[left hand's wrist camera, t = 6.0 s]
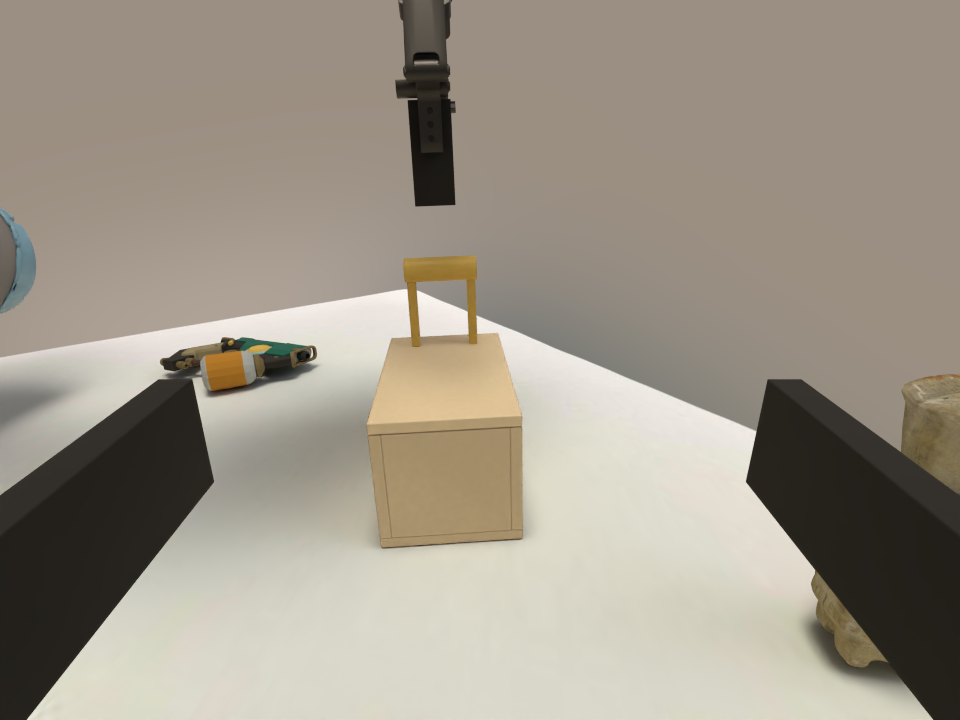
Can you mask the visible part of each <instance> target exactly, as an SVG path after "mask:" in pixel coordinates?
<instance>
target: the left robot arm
mask: <svg viewBox="0 0 960 720" xmlns="http://www.w3.org/2000/svg"><path fill="white" fill-rule="evenodd" d="M213 483H214V479H213V474H212V470H211V465H210V460H209V456H208V451H207V446H206V442H205V437H204V432H203V428H202V423H201V418H200V413H199V409H198V404H197V399H196V395H195V390H194V385H193V381H192V379H159V380H157V381H156V382H155V383H153V384H152V385H150V386H149V387H148V388H146V389H145V390H144V391H142V392H141V393H140V394H138V395H137V396H135V397H134V398H133V399H131V400H130V401H129V402H127V403H126V404H124V405H123V406H122V407H120V408H119V409H118V410H116V411H115V412H114V413H112V414H111V415H109V416H108V417H107V418H105V419H104V420H103V421H101V422H100V423H98V424H97V425H96V426H94V427H93V428H92V429H90V430H89V431H88V432H86V433H85V434H83V435H82V436H81V437H79V438H78V439H77V440H75V441H74V442H73V443H71V444H70V445H68V446H67V447H66V448H64V449H63V450H62V451H60V452H59V453H57V454H56V455H55V456H53V457H52V458H51V459H49V460H48V461H47V462H45V463H44V464H42V465H41V466H40V467H38V468H37V469H36V470H34V471H33V472H32V473H30V474H29V475H27V476H26V477H25V478H23V479H22V480H21V481H19V482H18V483H16V484H15V485H14V486H12V487H11V488H10V489H8V490H7V491H6V492H4V493H3V494H1V495H0V720H27V719H28V717H29V716H30V715H31V713H32V712H33V711H34V710H35V708H36V707H37V706H38V705H39V703H40V702H41V701H42V700H43V698H44V697H45V696H46V694H47V693H48V692H49V691H50V689H51V688H52V687H53V686H54V684H55V683H56V682H57V681H58V679H59V678H60V677H61V675H62V674H63V673H64V672H65V670H66V669H67V668H68V667H69V665H70V664H71V663H72V661H73V660H74V659H75V658H76V656H77V655H78V654H79V653H80V651H81V650H82V649H83V648H84V646H85V645H86V644H87V642H88V641H89V640H90V639H91V637H92V636H93V635H94V634H95V632H96V631H97V630H98V628H99V627H100V626H101V625H102V623H103V622H104V621H105V620H106V618H107V617H108V616H109V615H110V613H111V612H112V611H113V609H114V608H115V607H116V606H117V604H118V603H119V602H120V601H121V599H122V598H123V597H124V595H125V594H126V593H127V592H128V590H129V589H130V588H131V587H132V585H133V584H134V583H135V582H136V580H137V579H138V578H139V576H140V575H141V574H142V573H143V571H144V570H145V569H146V568H147V566H148V565H149V564H150V563H151V561H152V560H153V559H154V557H155V556H156V555H157V554H158V552H159V551H160V550H161V549H162V547H163V546H164V545H165V543H166V542H167V541H168V540H169V538H170V537H171V536H172V535H173V533H174V532H175V531H176V530H177V528H178V527H179V526H180V524H181V523H182V522H183V521H184V519H185V518H186V517H187V516H188V514H189V513H190V512H191V510H192V509H193V508H194V507H195V505H196V504H197V503H198V502H199V500H200V499H201V498H202V497H203V495H204V494H205V493H206V491H207V490H208V489H209V488H210V486H211V485H212V484H213ZM746 483H747V484H748V485H749V486H750V488H751V489H752V490H753V491H754V493H755V494H756V495H757V497H758V498H759V499H760V500H761V502H762V503H763V504H764V505H765V507H766V508H767V509H768V510H769V512H770V513H771V514H772V516H773V517H774V518H775V519H776V521H777V522H778V523H779V524H780V526H781V527H782V528H783V530H784V531H785V532H786V533H787V535H788V536H789V537H790V538H791V540H792V541H793V542H794V543H795V545H796V546H797V547H798V549H799V550H800V551H801V552H802V554H803V555H804V556H805V557H806V559H807V560H808V561H809V563H810V564H811V565H812V566H813V568H814V569H815V570H816V571H817V573H818V574H819V575H820V576H821V578H822V579H823V580H824V582H825V583H826V584H827V585H828V587H829V588H830V589H831V590H832V592H833V593H834V594H835V595H836V597H837V598H838V599H839V601H840V602H841V603H842V604H843V606H844V607H845V608H846V609H847V611H848V612H849V613H850V615H851V616H852V617H853V618H854V620H855V621H856V622H857V623H858V625H859V626H860V627H861V628H862V630H863V631H864V632H865V634H866V635H867V636H868V637H869V639H870V640H871V641H872V642H873V644H874V645H875V646H876V648H877V649H878V650H879V651H880V653H881V654H882V655H883V656H884V658H885V659H886V660H887V661H888V663H889V664H890V665H891V667H892V668H893V669H894V670H895V672H896V673H897V674H898V675H899V677H900V678H901V679H902V681H903V682H904V683H905V684H906V686H907V687H908V688H909V689H910V691H911V692H912V693H913V694H914V696H915V697H916V698H917V700H918V701H919V702H920V703H921V705H922V706H923V707H924V708H925V710H926V711H927V712H928V713H929V715H930V716H931V717H932V719H933V720H960V494H959V493H956V492H954V491H953V490H952V489H950V488H949V487H948V486H946V485H945V484H944V483H942V482H941V481H939V480H938V479H937V478H935V477H934V476H933V475H931V474H930V473H928V472H927V471H926V470H924V469H923V468H922V467H920V466H919V465H918V464H916V463H915V462H913V461H912V460H911V459H909V458H908V457H907V456H905V455H904V454H903V453H901V452H900V451H898V450H897V449H896V448H894V447H893V446H892V445H890V444H889V443H887V442H886V441H885V440H883V439H882V438H881V437H879V436H878V435H877V434H875V433H874V432H872V431H871V430H870V429H868V428H867V427H866V426H864V425H863V424H862V423H860V422H859V421H857V420H856V419H855V418H853V417H852V416H851V415H849V414H848V413H846V412H845V411H844V410H842V409H841V408H840V407H838V406H837V405H836V404H834V403H833V402H831V401H830V400H829V399H827V398H826V397H825V396H823V395H822V394H820V393H819V392H818V391H816V390H815V389H814V388H812V387H811V386H810V385H808V384H807V383H805V382H804V381H803V380H801V379H768V381H767V385H766V390H765V395H764V399H763V404H762V409H761V413H760V418H759V423H758V428H757V432H756V437H755V442H754V446H753V451H752V456H751V460H750V465H749V470H748V474H747V479H746Z"/></svg>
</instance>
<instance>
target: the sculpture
mask: <svg viewBox="0 0 960 720" xmlns="http://www.w3.org/2000/svg"><path fill="white" fill-rule="evenodd" d="M902 394H903V397H904V399H905V402H906V403H905V411H904V419H903V427H902V445H901V453H903V454H904V455H905V456H907V457H908V458H909V459H911V460H912V461H913V462H915V463H916V464H918V465H919V466H920V467H922V468H923V469H924V470H926V471H927V472H928V473H930V474H931V475H933V476H934V477H935V478H937V479H938V480H939V481H941V482H942V483H944V484H945V485H946V486H948V487H949V488H950V489H952V490H953V491H954V492H956V493H959V494H960V375H950V374H949V375H936V376H930V377H925V378H922V379H918V380H915V381H912V382H909V383H907V384H905V385H904V386H903V387H902ZM811 586H812V590H813V592H814V594H815V596H816V597H817V599H818V603H817V608H816V616H817V618H818V620H819V622H820V624H821V625H822V627H823V628H824V629H825V630H826V631H828V632H829V633H832V634H834V644H835V647H836V649H837V651H838V652H839V654H840V655H841V656H842V657H843V659H844V660H845V661H846V662H847V663H848V664H849V665H851V666H854V667H867V666H868V665H869V663H870V662H871V661H874V660H881V661H884V662H888V661H887V660H886V659H885V658H884V656H883V655H882V654H881V653H880V651H879V650H878V649H877V648H876V646H875V645H874V644H873V642H872V641H871V640H870V639H869V637H868V636H867V635H866V634H865V632H864V631H863V630H862V628H861V627H860V626H859V625H858V623H857V622H856V621H855V620H854V618H853V617H852V616H851V615H850V613H849V612H848V611H847V609H846V608H845V607H844V606H843V604H842V603H841V602H840V601H839V599H838V598H837V597H836V595H835V594H834V593H833V592H832V590H831V589H830V588H829V587H828V585H827V584H826V583H825V582H824V580H823V579H822V578H821V576H820V575H819V574H818V573H817V571H816V570H815V575H814V577H813V579H812V582H811Z"/></svg>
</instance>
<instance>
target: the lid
mask: <svg viewBox="0 0 960 720" xmlns="http://www.w3.org/2000/svg"><path fill="white" fill-rule="evenodd" d="M403 269H404V279H405V282H407V288H408V300H409V313H410V325H411V337H408V338H392V339H391V342H390V345H389V349H388V352H387V356H386V359H385V362H384V366H383V369H382V373H381V376H380V380H379V383H378V387H377V390H376V394H375V397H374V400H373V404H372V407H371V411H370V414H369V418H368V421H367V433H368V435H376V434H393V433H411V432H429V431H446V430H464V429H481V428H499V427H516V426H522V414H521V410H520V407H519V404H518V400H517V397H516V393H515V390H514V386H513V383H512V380H511V376H510V373H509V369H508V366H507V362H506V359H505V356H504V352H503V349H502V345H501V342H500V338H499V335H498V333H489V334H477V321H476V294H475V279H477V264H476V256H452V257H429V258H405V259H404V260H403ZM450 280H467V304H468V328H469V335H449V336H428V337H420V331H419V317H418V304H417V291H416V282H427V281H450Z"/></svg>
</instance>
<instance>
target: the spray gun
mask: <svg viewBox="0 0 960 720" xmlns="http://www.w3.org/2000/svg"><path fill="white" fill-rule="evenodd" d="M310 348H312V349H313V357H312V358H310V356H311V349H310ZM316 357H317V351H316V347H314V346H302V345H296V344H290V343H287V344H286V343H277V342H269V341H261V340H255V339H252V338H240V339H238V340H235V339H233V338H226V337H223V338H222V340H221V343H217V344H211V345H205V346H199V347H193V348H189V349H183V350H179V351H178V352H177V353H175V354H174V355H172V356H171V357H169V358H162V359H161V361H160V364H161V365H163V366H164V369H165V370H170V371H177V370H180V369H187V368H188V367H195V366H197V365H200V367H201V374H202V379H203V383H204V386H205V388H207V389H208V390H210V391H216V390H221V389H227V388H232V387H238V386H243V385H248V384H250V383H253V382H254V380H255V379H256V378H257V377H262V375H263V372H264V371H265V369H271V368H280V367H288V366H292V368H296V366H299V365H301V364H304V363H307V362H309V361H312V360H314V359H316ZM309 358H310V359H309ZM264 366H265V367H264Z"/></svg>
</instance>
